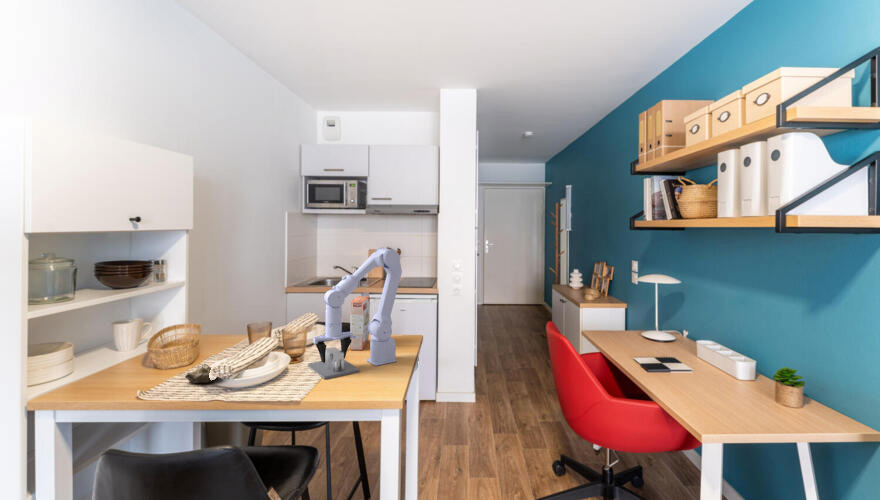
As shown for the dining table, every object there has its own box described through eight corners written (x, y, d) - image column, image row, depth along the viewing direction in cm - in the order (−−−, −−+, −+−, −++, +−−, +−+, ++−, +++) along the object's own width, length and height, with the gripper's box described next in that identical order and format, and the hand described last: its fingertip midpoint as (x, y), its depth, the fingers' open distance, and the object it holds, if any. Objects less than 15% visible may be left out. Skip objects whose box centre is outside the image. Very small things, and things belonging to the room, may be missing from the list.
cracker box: (363, 350, 172) (364, 301, 170) (349, 350, 172) (349, 301, 170) (369, 341, 186) (370, 295, 184) (356, 341, 186) (356, 295, 184)
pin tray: (340, 359, 160) (341, 348, 159) (359, 372, 147) (359, 359, 147) (308, 366, 152) (308, 354, 151) (324, 379, 139) (324, 366, 139)
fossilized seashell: (179, 379, 130) (211, 385, 131) (188, 358, 133) (219, 364, 134) (188, 383, 137) (219, 388, 137) (197, 363, 140) (226, 368, 140)
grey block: (334, 362, 153) (334, 346, 153) (343, 368, 147) (343, 352, 146) (324, 364, 151) (324, 348, 150) (333, 371, 144) (333, 354, 144)
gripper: (318, 328, 141) (317, 366, 142) (356, 322, 150) (356, 359, 150) (310, 323, 146) (310, 361, 147) (348, 319, 155) (348, 354, 156)
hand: (333, 359), depth 149 cm, fingers open, 7 cm apart
